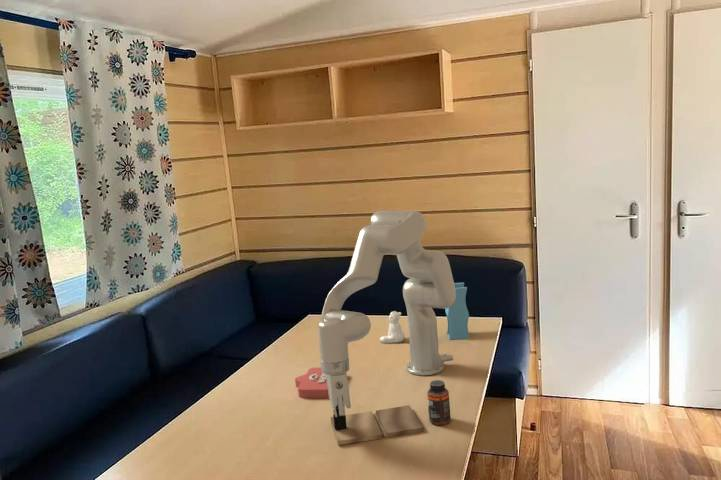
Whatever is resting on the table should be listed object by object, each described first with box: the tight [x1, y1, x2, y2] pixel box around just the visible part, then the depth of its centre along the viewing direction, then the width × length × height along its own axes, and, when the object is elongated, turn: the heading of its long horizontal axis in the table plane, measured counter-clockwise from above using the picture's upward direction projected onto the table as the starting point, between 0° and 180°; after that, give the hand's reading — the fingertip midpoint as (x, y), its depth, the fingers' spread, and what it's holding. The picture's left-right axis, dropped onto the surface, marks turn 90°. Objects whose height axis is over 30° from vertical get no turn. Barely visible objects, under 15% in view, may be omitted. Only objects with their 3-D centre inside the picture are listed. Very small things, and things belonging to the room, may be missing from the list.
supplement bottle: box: [426, 379, 451, 426], centre depth 167 cm, size 6×6×11 cm
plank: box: [330, 410, 384, 446], centre depth 167 cm, size 12×14×1 cm
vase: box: [444, 282, 470, 341], centre depth 232 cm, size 8×8×20 cm
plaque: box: [294, 366, 329, 399], centre depth 198 cm, size 18×4×15 cm
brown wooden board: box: [372, 404, 424, 439], centre depth 169 cm, size 11×14×1 cm
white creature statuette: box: [379, 310, 405, 344], centre depth 233 cm, size 10×9×12 cm
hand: (340, 428), depth 165 cm, fingers closed
